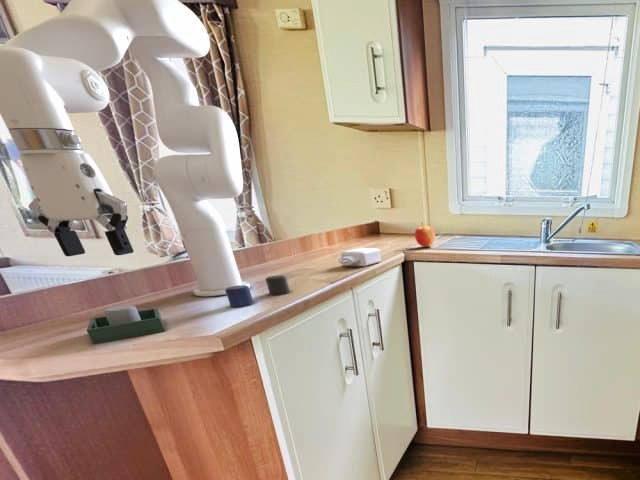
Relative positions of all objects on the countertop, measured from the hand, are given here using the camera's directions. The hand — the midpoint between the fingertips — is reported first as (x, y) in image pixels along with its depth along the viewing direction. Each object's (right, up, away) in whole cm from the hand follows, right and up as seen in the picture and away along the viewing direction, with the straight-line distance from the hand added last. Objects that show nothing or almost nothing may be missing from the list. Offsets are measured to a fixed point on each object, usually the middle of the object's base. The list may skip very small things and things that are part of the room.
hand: (100, 254), depth 75 cm
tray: (+1, -13, +5) cm, 14 cm away
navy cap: (+11, -5, +22) cm, 25 cm away
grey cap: (+1, -13, +5) cm, 14 cm away
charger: (+22, +16, +66) cm, 71 cm away
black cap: (+15, 0, +32) cm, 35 cm away
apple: (+37, +35, +104) cm, 116 cm away
